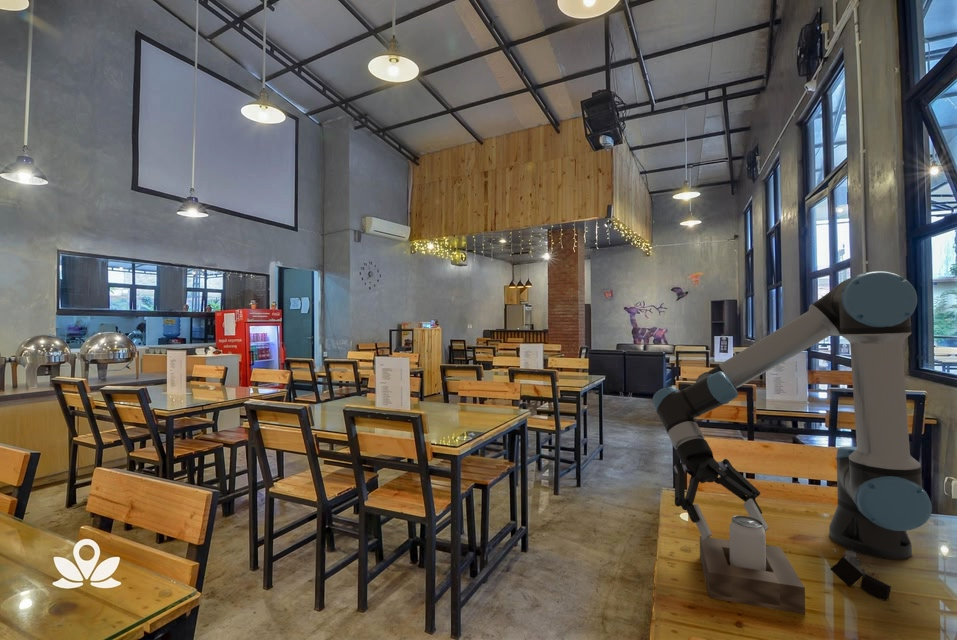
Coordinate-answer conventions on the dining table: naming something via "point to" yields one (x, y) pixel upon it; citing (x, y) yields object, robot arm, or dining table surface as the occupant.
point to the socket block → (751, 578)
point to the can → (747, 543)
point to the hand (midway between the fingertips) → (736, 534)
